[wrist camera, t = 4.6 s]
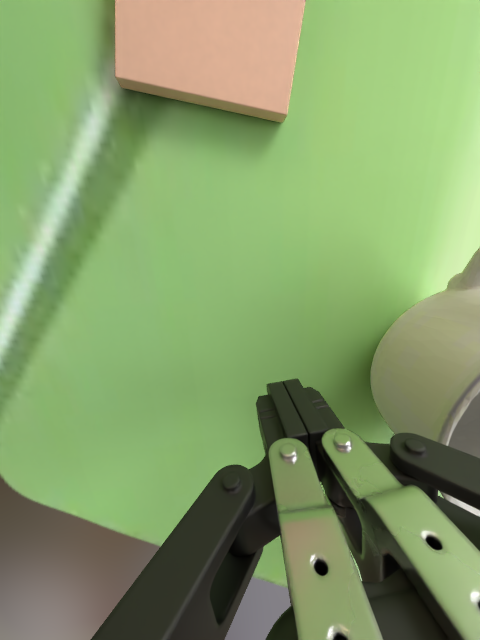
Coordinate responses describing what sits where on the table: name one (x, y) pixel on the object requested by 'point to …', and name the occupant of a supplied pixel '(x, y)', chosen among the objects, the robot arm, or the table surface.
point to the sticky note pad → (211, 52)
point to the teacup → (435, 368)
